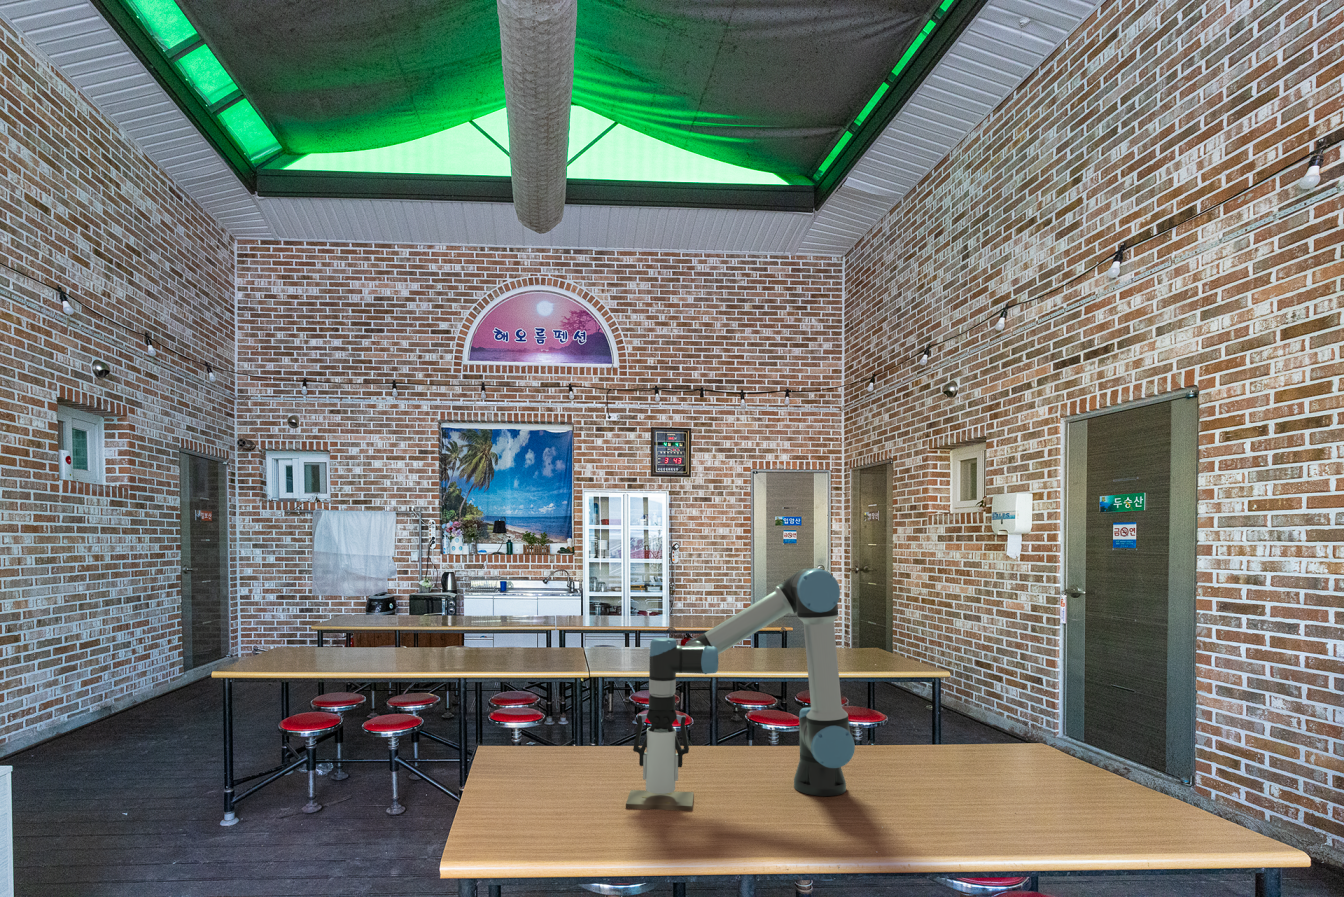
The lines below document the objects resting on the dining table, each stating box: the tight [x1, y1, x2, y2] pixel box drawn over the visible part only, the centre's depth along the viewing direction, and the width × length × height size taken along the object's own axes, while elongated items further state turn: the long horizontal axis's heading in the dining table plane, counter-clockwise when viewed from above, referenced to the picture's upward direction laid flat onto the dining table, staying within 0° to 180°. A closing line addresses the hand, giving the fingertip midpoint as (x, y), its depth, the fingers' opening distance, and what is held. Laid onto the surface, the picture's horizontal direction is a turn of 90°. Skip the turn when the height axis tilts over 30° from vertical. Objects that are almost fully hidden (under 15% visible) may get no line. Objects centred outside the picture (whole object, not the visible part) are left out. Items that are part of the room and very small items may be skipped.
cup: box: [645, 726, 677, 794], centre depth 214 cm, size 8×8×16 cm
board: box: [625, 789, 695, 812], centre depth 213 cm, size 18×12×1 cm, turn 87°
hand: (660, 778), depth 213 cm, fingers closed on cup, 8 cm apart
